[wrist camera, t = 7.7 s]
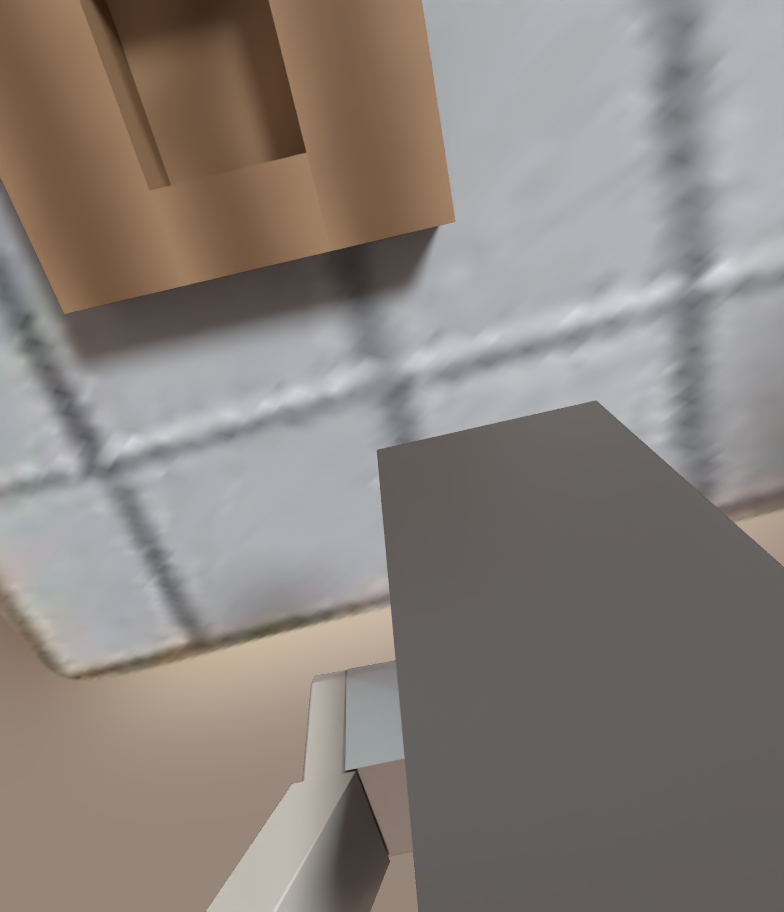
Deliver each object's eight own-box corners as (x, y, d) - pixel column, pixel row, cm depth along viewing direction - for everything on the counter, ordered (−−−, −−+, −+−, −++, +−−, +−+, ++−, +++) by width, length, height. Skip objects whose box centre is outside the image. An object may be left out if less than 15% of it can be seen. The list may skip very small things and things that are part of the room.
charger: (596, 400, 10) (1285, 1012, 3) (609, 612, 12) (1005, 1277, 5) (377, 449, 10) (440, 1162, 3) (428, 650, 12) (541, 1351, 5)
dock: (371, -221, 19) (375, -301, 16) (442, 217, 25) (455, 221, 22) (-75, -103, 20) (-157, -157, 17) (99, 298, 26) (64, 314, 23)
